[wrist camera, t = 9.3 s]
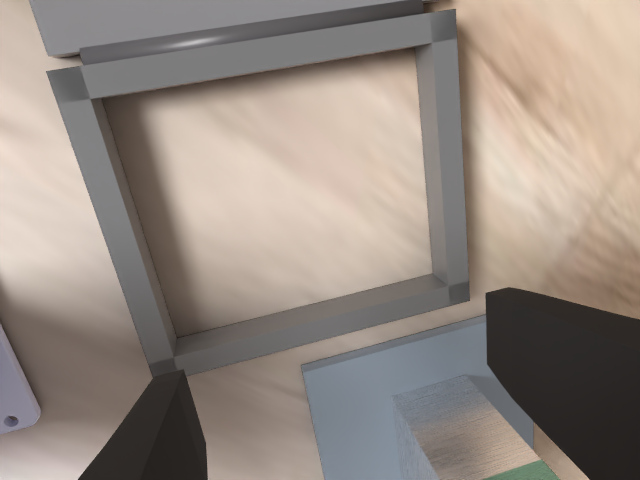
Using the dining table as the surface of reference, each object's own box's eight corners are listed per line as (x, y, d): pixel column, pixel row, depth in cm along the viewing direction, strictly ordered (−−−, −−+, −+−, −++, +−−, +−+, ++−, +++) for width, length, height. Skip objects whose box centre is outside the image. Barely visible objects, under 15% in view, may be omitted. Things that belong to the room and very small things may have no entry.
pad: (337, 541, 25) (340, 551, 24) (300, 365, 21) (303, 372, 20) (526, 476, 27) (533, 485, 26) (526, 303, 23) (534, 308, 22)
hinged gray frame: (159, 363, 19) (155, 384, 18) (-118, -458, 11) (-168, -540, 10) (453, 287, 21) (469, 300, 20) (407, -447, 13) (430, -511, 12)
